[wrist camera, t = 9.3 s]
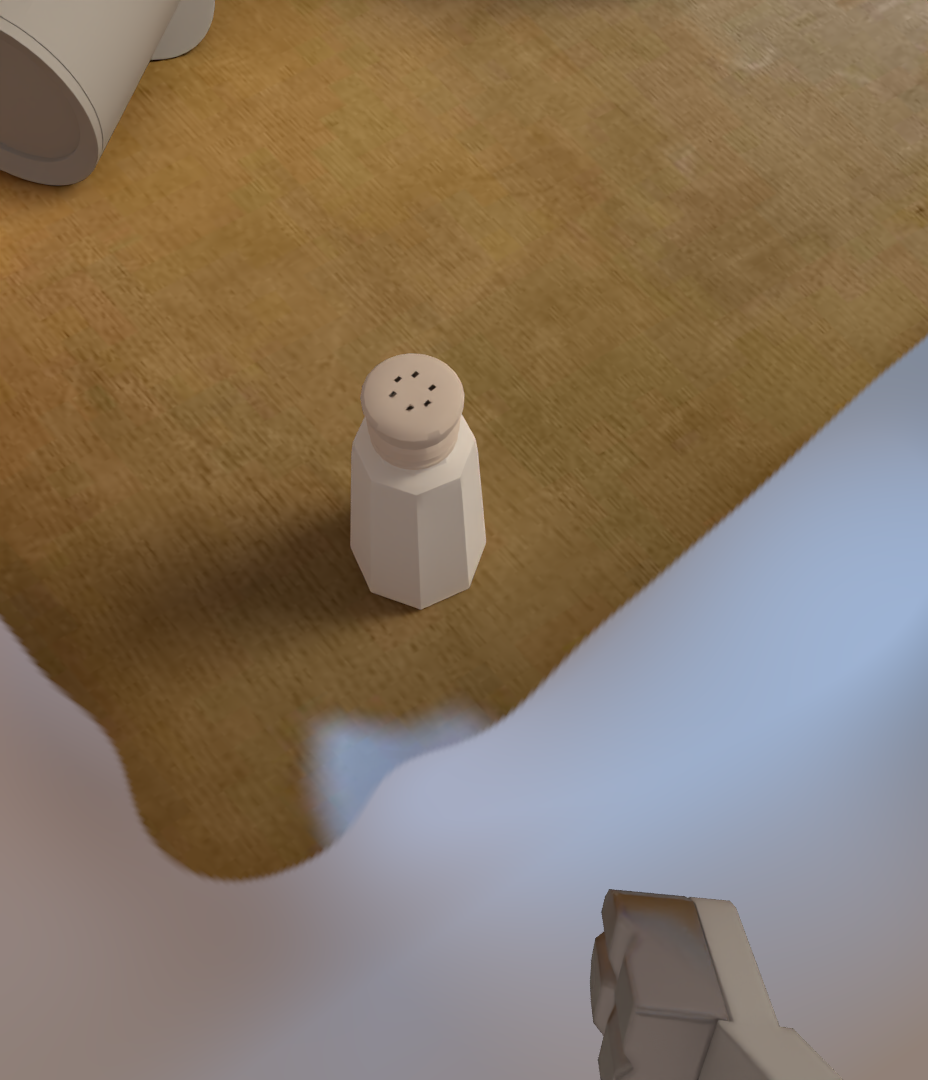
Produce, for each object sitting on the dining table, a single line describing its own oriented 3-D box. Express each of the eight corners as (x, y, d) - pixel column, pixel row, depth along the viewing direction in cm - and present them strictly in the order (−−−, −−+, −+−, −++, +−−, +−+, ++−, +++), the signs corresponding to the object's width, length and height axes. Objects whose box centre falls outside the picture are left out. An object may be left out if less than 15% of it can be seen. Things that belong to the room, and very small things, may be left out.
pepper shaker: (322, 549, 30) (267, 394, 20) (415, 461, 32) (408, 278, 22) (421, 639, 29) (416, 521, 19) (513, 542, 31) (554, 387, 21)
